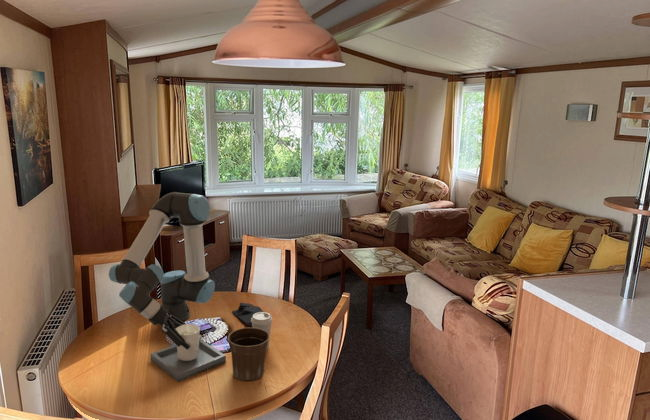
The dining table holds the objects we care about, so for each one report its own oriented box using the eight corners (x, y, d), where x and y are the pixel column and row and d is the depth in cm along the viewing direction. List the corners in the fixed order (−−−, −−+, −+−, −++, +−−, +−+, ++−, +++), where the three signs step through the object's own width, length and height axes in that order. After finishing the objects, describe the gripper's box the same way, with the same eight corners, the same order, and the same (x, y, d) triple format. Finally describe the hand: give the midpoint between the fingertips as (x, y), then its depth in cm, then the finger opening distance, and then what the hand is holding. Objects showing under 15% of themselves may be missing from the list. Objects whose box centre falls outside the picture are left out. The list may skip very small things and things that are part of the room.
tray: (150, 360, 200) (150, 353, 200) (197, 342, 216) (197, 336, 215) (178, 382, 186) (177, 375, 185) (225, 361, 201) (225, 355, 200)
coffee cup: (268, 353, 209) (268, 321, 206) (247, 350, 211) (247, 319, 208) (274, 343, 218) (275, 312, 215) (254, 340, 220) (255, 310, 217)
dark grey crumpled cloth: (243, 329, 231) (243, 320, 230) (231, 311, 250) (231, 303, 249) (273, 324, 238) (273, 315, 237) (259, 307, 257) (259, 299, 256)
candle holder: (178, 349, 205) (178, 323, 202) (202, 349, 205) (201, 323, 203) (173, 362, 195) (172, 335, 192) (198, 361, 196) (197, 334, 193)
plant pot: (244, 358, 204) (244, 323, 201) (276, 368, 198) (277, 332, 194) (219, 377, 190) (219, 339, 187) (253, 388, 183) (254, 350, 180)
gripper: (151, 307, 204) (191, 339, 210) (143, 331, 183) (187, 366, 189) (164, 295, 204) (203, 327, 210) (157, 317, 183) (201, 352, 189)
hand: (195, 345), depth 200 cm, fingers closed on candle holder, 9 cm apart
